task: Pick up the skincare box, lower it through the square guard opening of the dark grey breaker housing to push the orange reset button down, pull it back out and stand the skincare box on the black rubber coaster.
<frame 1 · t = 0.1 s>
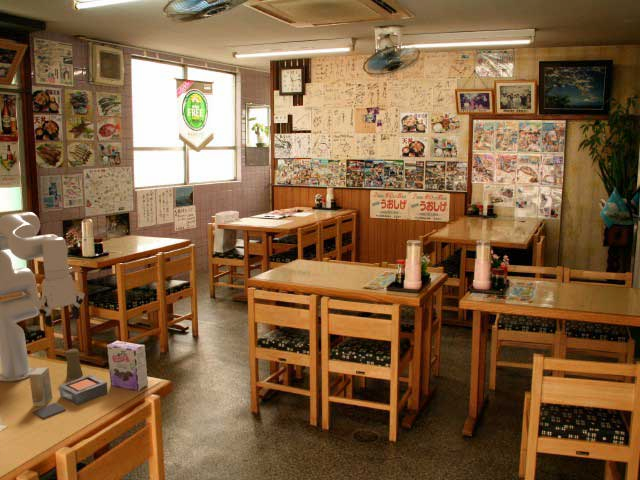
hand: (62, 322, 206), 31 cm above the table, fingers open, 9 cm apart
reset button: (83, 387, 220), point 3 cm above the table, slide at 0.0 cm
coaster: (49, 411, 209), on the table
skincare box: (43, 403, 216), on the table
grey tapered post: (74, 376, 239), on the table
candy box: (129, 386, 228), on the table
breaker housing: (84, 395, 221), on the table
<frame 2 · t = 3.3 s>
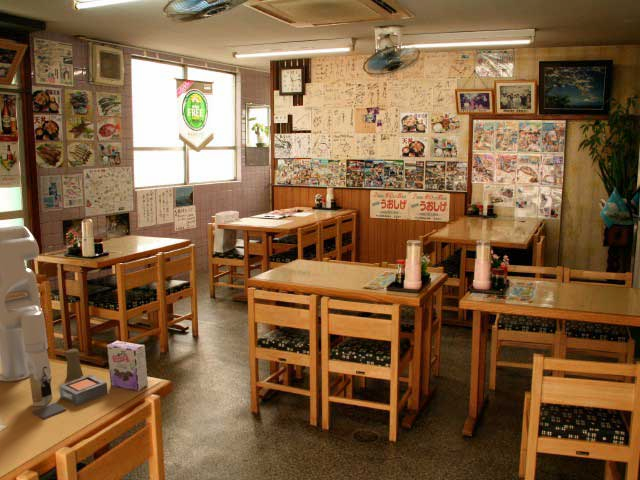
hand: (41, 392, 215), 4 cm above the table, fingers closed on skincare box, 7 cm apart
skincare box: (43, 403, 216), on the table, touching gripper
everything else where it was.
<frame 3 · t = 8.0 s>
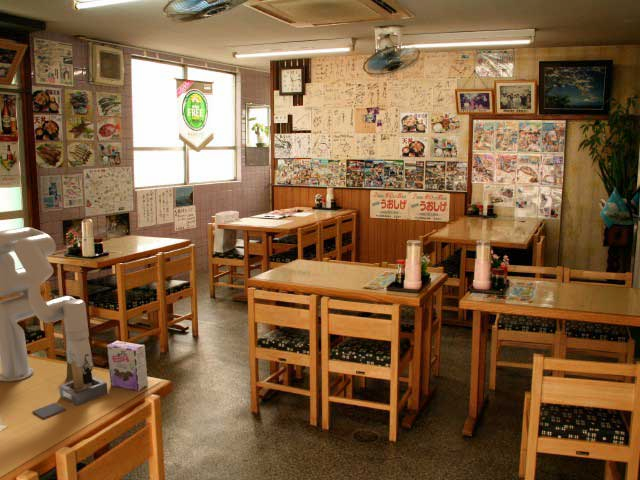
hand: (82, 380, 220), 6 cm above the table, fingers closed on skincare box, 7 cm apart
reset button: (83, 392, 220), point 1 cm above the table, slide at 2.0 cm, touching breaker housing, skincare box
skincare box: (83, 390, 220), point 2 cm above the table, touching gripper, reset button
everything else where it was.
when the fingers open (6 cm above the table, at t = 13.9 s): skincare box drops 1 cm, resting on coaster.
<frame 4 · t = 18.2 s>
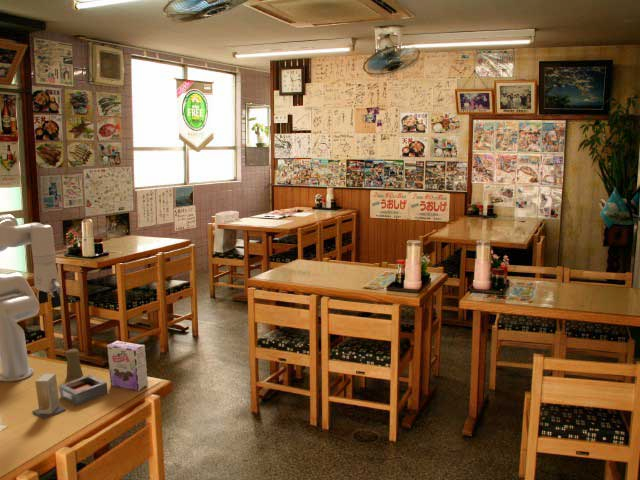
hand: (50, 304, 220), 33 cm above the table, fingers open, 9 cm apart
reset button: (83, 392, 220), point 1 cm above the table, slide at 2.0 cm, touching breaker housing
skincare box: (49, 410, 209), resting on coaster
everything else where it was.
at the end: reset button slide at 2.0 cm; skincare box inside the target area on the coaster (0.2 cm from its centre), point 0.4 cm above the coaster's base; skincare box tilted 0° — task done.
